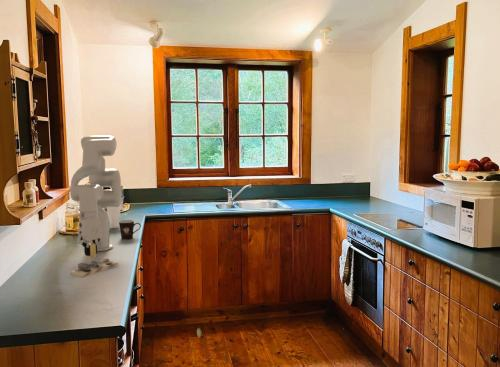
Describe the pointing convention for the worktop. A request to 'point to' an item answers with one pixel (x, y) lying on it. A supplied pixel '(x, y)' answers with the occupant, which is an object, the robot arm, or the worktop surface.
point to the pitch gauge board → (92, 268)
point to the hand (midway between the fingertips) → (91, 254)
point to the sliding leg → (92, 255)
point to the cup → (114, 215)
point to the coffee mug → (127, 228)
